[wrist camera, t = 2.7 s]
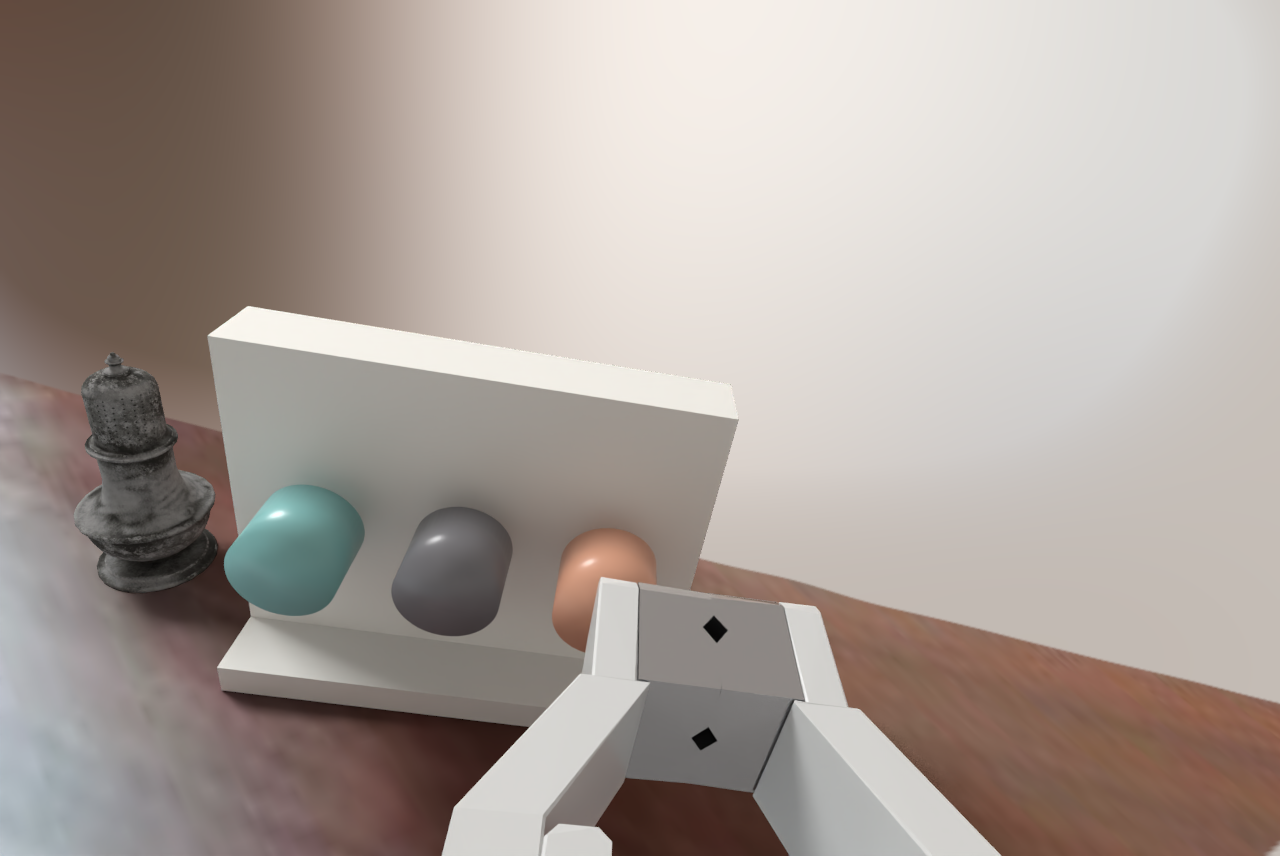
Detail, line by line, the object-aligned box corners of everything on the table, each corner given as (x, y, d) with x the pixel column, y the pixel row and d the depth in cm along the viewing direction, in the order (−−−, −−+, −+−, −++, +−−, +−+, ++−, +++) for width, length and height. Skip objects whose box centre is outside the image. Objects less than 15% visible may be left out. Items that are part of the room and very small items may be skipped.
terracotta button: (546, 649, 27) (557, 573, 25) (555, 594, 30) (566, 521, 28) (647, 661, 28) (666, 588, 26) (647, 606, 30) (664, 535, 28)
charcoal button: (391, 629, 27) (390, 550, 25) (414, 575, 29) (415, 499, 27) (495, 642, 27) (503, 565, 25) (508, 588, 30) (516, 514, 28)
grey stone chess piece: (209, 593, 36) (169, 386, 29) (70, 600, 34) (-3, 382, 28) (234, 519, 40) (204, 328, 34) (113, 522, 38) (59, 321, 32)
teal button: (231, 608, 26) (216, 526, 24) (267, 555, 29) (258, 477, 27) (339, 622, 27) (333, 542, 25) (365, 568, 29) (363, 492, 27)
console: (221, 690, 31) (157, 371, 23) (282, 593, 36) (247, 306, 28) (662, 742, 33) (748, 462, 25) (660, 643, 38) (731, 384, 30)
